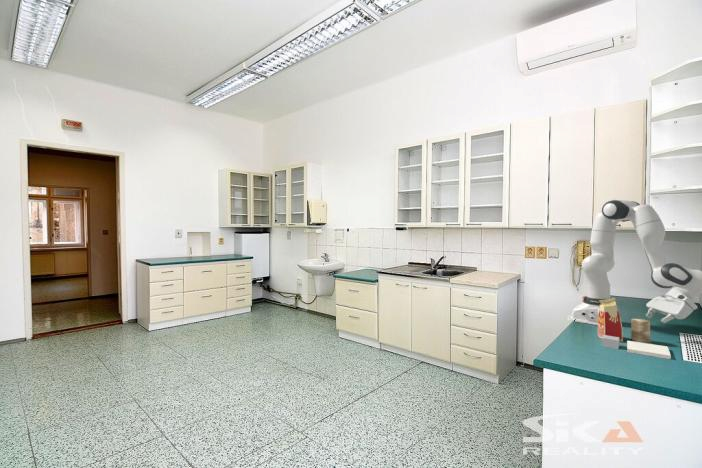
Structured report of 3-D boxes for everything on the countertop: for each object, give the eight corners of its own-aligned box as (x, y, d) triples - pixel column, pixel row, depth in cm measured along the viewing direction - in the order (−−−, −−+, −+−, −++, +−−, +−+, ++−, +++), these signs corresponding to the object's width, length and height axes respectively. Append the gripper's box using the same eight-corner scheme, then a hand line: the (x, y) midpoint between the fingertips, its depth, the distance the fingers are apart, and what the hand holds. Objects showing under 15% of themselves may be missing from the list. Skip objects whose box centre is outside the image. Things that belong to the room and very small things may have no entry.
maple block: (638, 342, 164) (638, 321, 164) (631, 339, 169) (631, 318, 169) (650, 342, 163) (650, 321, 163) (642, 339, 168) (642, 318, 168)
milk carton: (616, 336, 174) (616, 296, 174) (624, 341, 166) (623, 299, 165) (595, 334, 177) (594, 295, 177) (601, 339, 169) (601, 298, 168)
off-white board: (627, 352, 151) (627, 348, 151) (627, 343, 162) (627, 340, 162) (670, 359, 143) (670, 355, 143) (667, 349, 154) (667, 346, 154)
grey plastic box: (601, 346, 160) (601, 337, 160) (603, 343, 164) (603, 334, 164) (618, 349, 156) (618, 340, 156) (619, 345, 160) (619, 337, 160)
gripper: (655, 290, 175) (634, 309, 176) (690, 298, 154) (665, 319, 156) (665, 299, 174) (644, 318, 175) (701, 308, 154) (676, 329, 155)
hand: (654, 319), depth 165 cm, fingers open, 8 cm apart
